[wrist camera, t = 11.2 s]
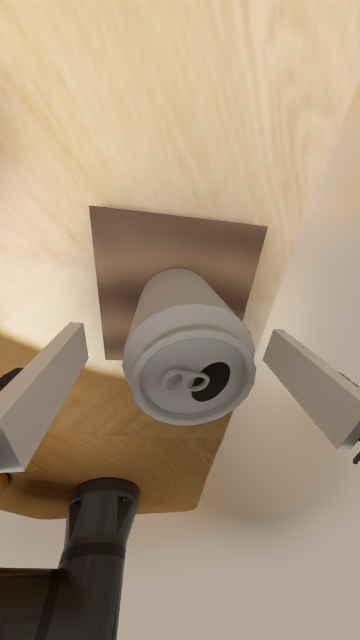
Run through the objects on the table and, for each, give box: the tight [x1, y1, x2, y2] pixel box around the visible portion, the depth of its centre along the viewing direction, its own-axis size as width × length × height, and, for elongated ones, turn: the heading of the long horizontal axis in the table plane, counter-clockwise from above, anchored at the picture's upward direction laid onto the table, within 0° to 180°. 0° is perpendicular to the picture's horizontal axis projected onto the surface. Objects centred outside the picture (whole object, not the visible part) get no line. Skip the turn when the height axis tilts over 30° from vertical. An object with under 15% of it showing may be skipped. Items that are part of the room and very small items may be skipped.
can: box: [122, 268, 256, 426], centre depth 14 cm, size 8×8×12 cm
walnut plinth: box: [89, 206, 268, 360], centre depth 21 cm, size 16×16×3 cm
